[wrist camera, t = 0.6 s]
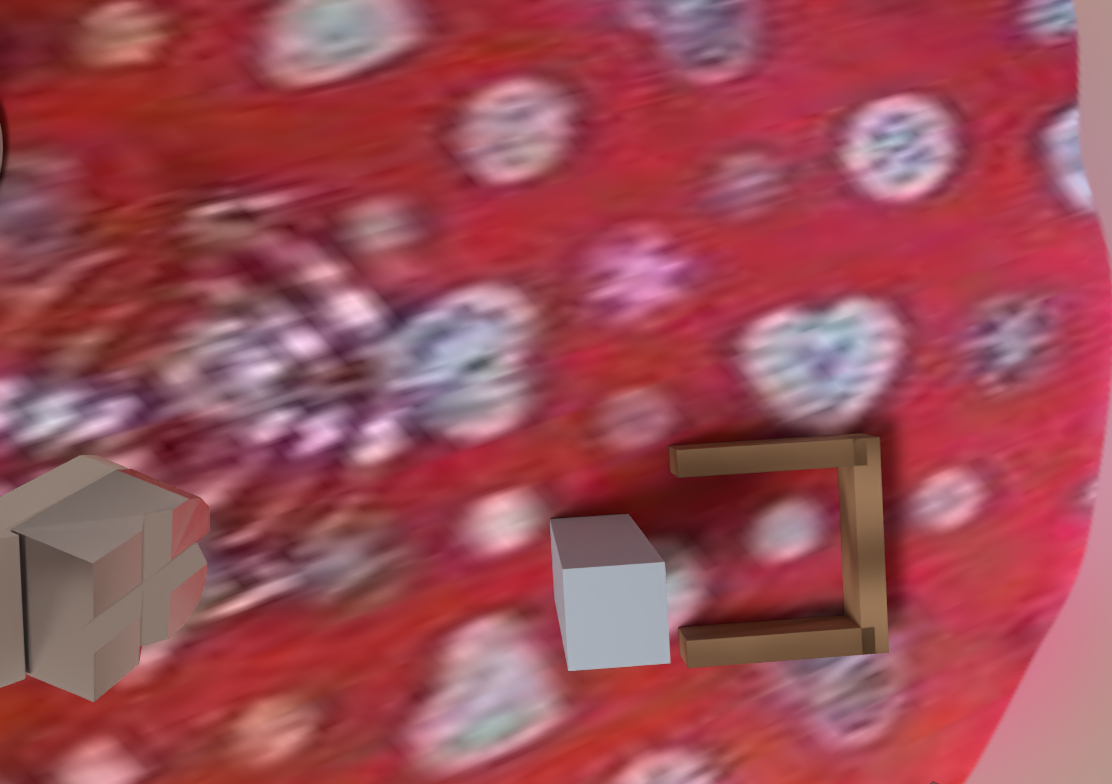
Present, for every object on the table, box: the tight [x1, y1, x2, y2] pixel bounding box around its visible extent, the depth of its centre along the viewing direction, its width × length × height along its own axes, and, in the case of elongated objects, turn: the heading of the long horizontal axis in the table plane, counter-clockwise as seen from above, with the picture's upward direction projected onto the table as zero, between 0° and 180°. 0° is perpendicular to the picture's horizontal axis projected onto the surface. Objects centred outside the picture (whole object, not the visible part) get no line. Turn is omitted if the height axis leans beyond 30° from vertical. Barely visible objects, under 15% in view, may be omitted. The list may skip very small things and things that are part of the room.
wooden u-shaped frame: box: [668, 433, 889, 668], centre depth 51 cm, size 12×11×2 cm
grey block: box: [550, 514, 670, 671], centre depth 45 cm, size 4×4×12 cm
